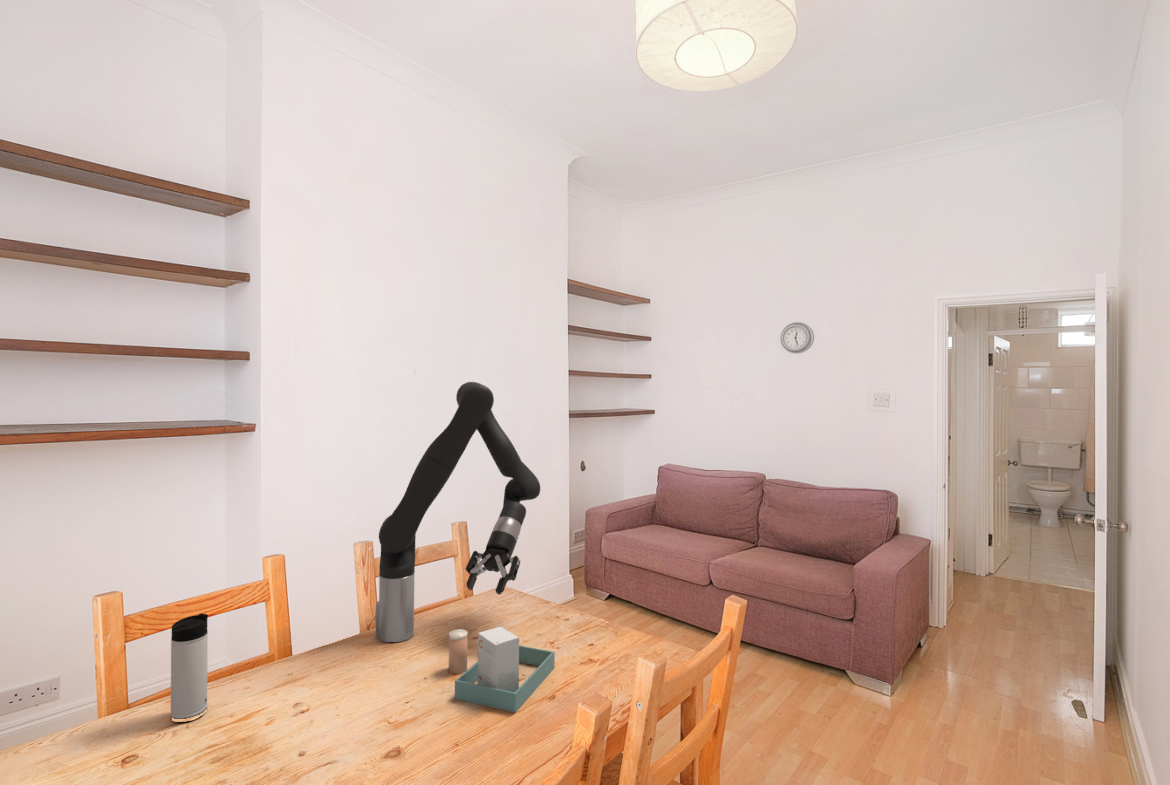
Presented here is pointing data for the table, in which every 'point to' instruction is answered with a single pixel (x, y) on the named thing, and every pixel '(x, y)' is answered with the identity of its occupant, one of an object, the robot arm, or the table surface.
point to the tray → (504, 698)
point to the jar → (458, 651)
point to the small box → (498, 659)
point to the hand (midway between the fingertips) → (483, 590)
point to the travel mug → (189, 666)
